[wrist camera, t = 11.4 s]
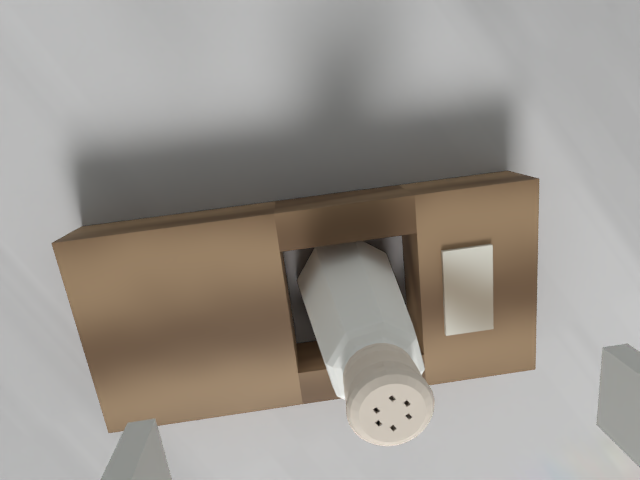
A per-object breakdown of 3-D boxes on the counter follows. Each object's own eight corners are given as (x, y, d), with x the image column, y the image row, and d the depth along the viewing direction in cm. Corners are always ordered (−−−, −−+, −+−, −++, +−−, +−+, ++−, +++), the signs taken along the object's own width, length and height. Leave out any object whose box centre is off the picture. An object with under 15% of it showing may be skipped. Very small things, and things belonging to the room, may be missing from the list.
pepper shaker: (354, 214, 23) (412, 298, 13) (414, 287, 25) (510, 418, 14) (275, 277, 24) (267, 408, 13) (337, 345, 25) (375, 512, 15)
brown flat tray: (81, 226, 22) (49, 244, 19) (507, 170, 23) (541, 179, 20) (128, 396, 25) (107, 435, 22) (507, 341, 26) (537, 371, 23)
